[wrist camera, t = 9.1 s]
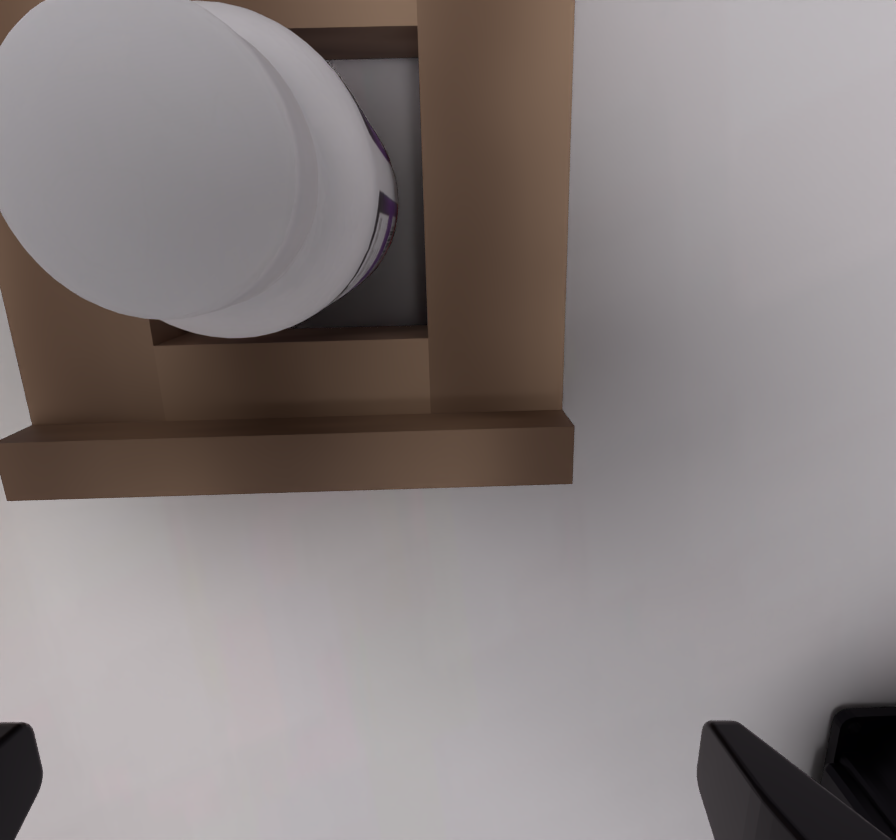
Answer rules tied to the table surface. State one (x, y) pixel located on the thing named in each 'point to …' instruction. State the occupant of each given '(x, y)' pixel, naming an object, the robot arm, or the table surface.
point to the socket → (344, 348)
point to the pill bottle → (188, 164)
